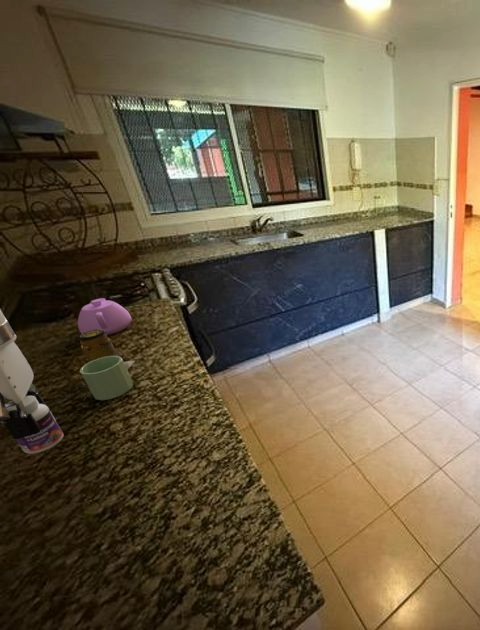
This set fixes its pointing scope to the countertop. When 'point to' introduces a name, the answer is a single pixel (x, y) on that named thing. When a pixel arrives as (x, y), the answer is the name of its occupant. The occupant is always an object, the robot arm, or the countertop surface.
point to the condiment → (98, 346)
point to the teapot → (103, 317)
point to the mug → (106, 377)
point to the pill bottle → (47, 424)
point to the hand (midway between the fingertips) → (32, 423)
